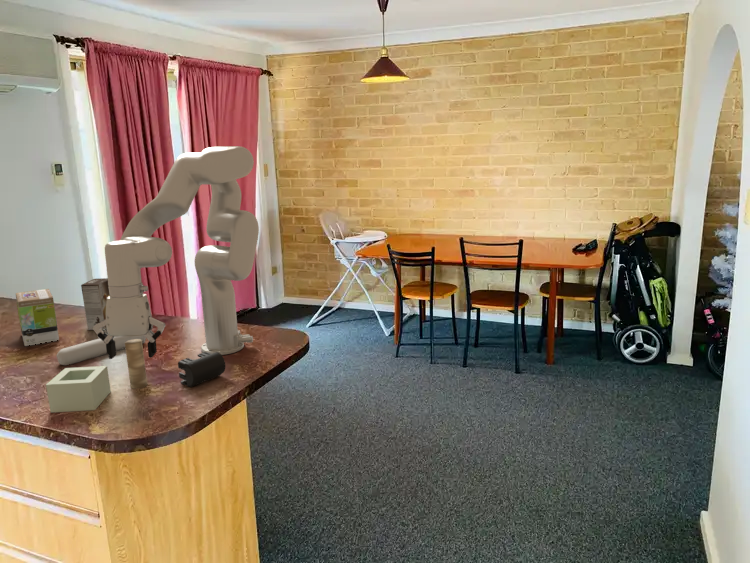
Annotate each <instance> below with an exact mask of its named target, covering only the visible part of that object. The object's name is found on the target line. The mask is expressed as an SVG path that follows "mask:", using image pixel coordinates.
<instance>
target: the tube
mask: <svg viewBox="0 0 750 563" xmlns="http://www.w3.org/2000/svg"><path fill="white" fill-rule="evenodd" d="M133 339H140V340H142V344H145V343H146V340H147V338H146V337H145V336H144V335H143V336H115V337H114V338H113V340H114V341H115V346H116V352H118V351H120V350H123V349H125V342H126V341H128V340H133ZM103 355H107V350H106V344H105V343H104V342H103V340H101V339H100V338H99V337H98V338H95V339H92V340H89V341H86V342H81V343H78V344H74V345H71V346H67V347H64V348H60V349H59V351H58V352H57V354H56V356H55V357H56V360H57V362H58V364H59V365H61V366H69V364H70V365H73V364H77V363H80V362H83V361H87V360H90V359H94V358H97V357H101V356H103Z"/></svg>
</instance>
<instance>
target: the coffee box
mask: <svg viewBox="0 0 750 563" xmlns="http://www.w3.org/2000/svg"><path fill="white" fill-rule="evenodd" d="M80 287H81V294H82V299H83V300H82V301H83V306H84V312H85V313H84V314H85V320H86V324H87V330H88V331H94V330H93V326H95V325H96V324H98V323H100V322H102V321H104V320H106V303H107V297H109V296H110V295H109V286H108V277H106V278H93V279H91V280H88V281H86V282H83V283H82V284H81V285H80ZM105 330H106V331H107V329H106V325H105V326H103V327H102V331H105Z"/></svg>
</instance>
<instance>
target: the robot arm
mask: <svg viewBox="0 0 750 563" xmlns="http://www.w3.org/2000/svg"><path fill="white" fill-rule="evenodd" d="M254 165H255V162H254V156H253V154H252V152H251V151H250V150H249V149H248V148H246V147H244V146H241V145H240V146H239V145H238V146H237V145H236V146H233V145H232V146H222V145H221V146H211V147H210V146H209V147H206V148H204V149H203V150H202V151H201V152H184V153H182V154H180V155H178V157H177V158H176V159H175V161H174V163H173V164H172V166H171V168H170V170H169V172H168V174H167V176H166V178H165V180H164V182H163V184H162V186H161V187H160V190H159V191H158V193H157V195H156V196H155V197H154V199H152V200H151V201H149V202H148V203H147V204H146V205H144V207H143V208H142V209H140V210H139V211H138V212H137V213H136V214H135V215H133V217H132V218H131V220H130V221H129V222H128V224H127V226H126V227H125V230H124V231H123V233H122V235H121V237H120V239H119V240H114V241H109V242H107V243H106V244H105V245H104V256H105V264H106V275H107V278H108V286H109V295H110V296H109V297H107V303H106V320H104V321H102V322H100V323H98V324H96V325H95V326H93V330H92V331H94V332H95V334H96V335H97V336H96V337H98V339H99V338H100V339H101V340H103V342H104V343H105V344H106V350H107V354H106V355H108V359H109V360H112V359H114V358H115V357H116V356H117V351H116V346H115V341H114V340H113V338H114V337H115V336H143V335H144V336H145V338H146V340H148V342H147V353H148V358H154V357H155V354H156V353H157V350H158V348H157V339H158V338H159V337H160V336H161V335H162V334H163V331H164V329H165V327H166V323H165V322H163V321H160V320H158V319H156V318H154V317H153V315H152V310H151V307H150V302H149V299H148V296H147V294H146V293H145V292H148V291H149V287H148V285H144V283H143V282H142V274H141V269H143V268H158V267H162V266H164V265H166V264H167V263H168V262H170V260H171V258H172V255H173V250H172V246H171V245H170V243H169V242H168V241H166V240H165V239H163V238H160V237H155V236H153V235H154V233H155V232H156V231H157V230H158V229H159V228H160V227H162V226H163V225H165V224H167V223H169V222H171V221H173V220H176V219H179V218H180V217H182V216H184V215H186V214H187V213H188V211H189V210H190V208H191V205H192V203H193V201H194V199H195V197H196V196H197V193H198V191H199V189H200V187H201V186H202V185H206V186H207V185H209V186H210V187H211V199H210V205H209V208H208V209H209V210H208V215H207V220H206V227H205V228H206V234H207V236H208V237H209V238H210V239H211V240H213V241H217V242H223V243H230V245H229V246H225V245H217V244H215V245H214V244H212V245H211V244H210V245H205V246H203V247H201V248H199V249H198V250H197V252H196V253H195V256H194V267H195V271H196V275H197V279H198V282H199V286H200V287H199V288H200V294H201V303H202V314H203V327H204V335H205V336H204V337H205V343H203V344H202V345H201V346H200V350H201V353H203V352H208V353H211V354H213V353H215V352H219V353H220V354H221V355H222V356H223V355H229V354H230V355H231V354H235V353H236V352H237V353H238V352H239V351H241V350H242V349H243V348H244V347H245V343H247V344H248V343H253V342H254V337H253V335H250V334H241V330H239V329H238V320H237V318H238V317H237V309H236V308H237V307H236V306H237V305H236V294H235V293H236V292H235V289H234V285H233V283H232V281H234V282H235V281H236V282H239V281H244V280H245V279H247V278H248V277H249V276H250V274H251V272H252V270H253V266H254V262H255V255H256V251H257V244H258V239H259V233H260V229H259V228H260V227H259V221H258V220H257V217H256V216H255V214H253V213H252V212H250V211H248V210H246V209H245V210H243V209H241V204H242V190H241V187H240V185H239V183H238V181H237V180H238V179H241V178H245V177H247V176H248V175H249V174H250V173H251V172H252V170H253V168H254ZM105 325H106V332H105V331H104V330H102V327H103V326H105ZM154 326H155V327H157V330H156V332H154V331H153V328H154Z"/></svg>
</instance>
